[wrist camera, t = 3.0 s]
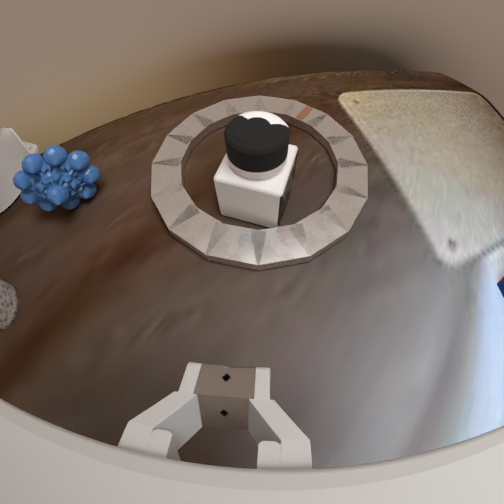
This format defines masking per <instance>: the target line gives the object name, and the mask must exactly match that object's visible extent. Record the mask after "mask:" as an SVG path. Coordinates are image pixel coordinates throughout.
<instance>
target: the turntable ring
mask: <svg viewBox="0 0 504 504" xmlns="http://www.w3.org/2000/svg"><path fill="white" fill-rule="evenodd" d="M250 111H264V112H269V113H272V114H274V115H276V116H278V117H279V118H281V119H282V120H283V121H284V122H286V123H289V124H291V125H293V126H295V127H298V128H300V129H302V130H304V131H306V132H309V133H310V134H311V135H312V136H313V137H314V138H315V139H316V140H317V141H318V142H320V143H321V144H322V145H323V146H324V147H325V148H326V149H327V151H328V153H329V156H330V158H331V160H332V162H333V165H334V167H335V169H336V176H335V189H334V191H333V192H332V194H331V195H330V197H329V198H328V200H327V201H326V203H325V204H324V206H323V207H322V208H321V209H320V210H318V211H316V212H315V213H313V214H311V215H309V216H308V217H306V218H304V219H303V220H301V221H299V222H297V223H296V224H294V225H287V226H281V227H275V228H269V229H263V230H255V229H250V228H244V227H239V226H233V225H228V224H223V223H221V222H220V221H218V220H216V219H215V218H213V217H212V216H210V215H208V214H207V213H205V212H203V211H202V210H200V209H198V208H197V207H196V206H195V204H194V203H193V201H192V200H191V198H190V197H189V195H188V194H187V192H186V190H185V189H184V173H183V169H184V167H185V164H186V162H187V160H188V158H189V156H190V154H191V151H192V149H193V148H194V147H195V146H196V145H197V144H198V143H199V142H200V141H202V140H203V139H204V138H205V137H206V136H207V135H208V134H209V133H210V132H212V131H214V130H217V129H219V128H221V127H224V126H226V125H227V124H228V123H229V122H230V121H231V120H232V119H233V118H235V117H236V116H238V115H240V114H242V113H246V112H250ZM367 166H368V165H367V163H366V161H365V159H364V157H363V155H362V153H361V151H360V149H359V148H358V146H357V144H356V142H355V140H354V138H353V136H352V135H351V134H350V133H348V132H347V131H346V130H345V129H344V128H343V127H342V126H340V125H339V124H338V123H337V122H336V121H335V120H333V119H332V118H331V117H330V116H329V115H328V114H326V113H324V112H321V111H319V110H317V109H314V108H312V107H310V106H307V105H305V104H303V103H300V102H298V101H296V100H289V99H282V98H275V97H267V96H252V97H244V98H236V99H229V100H224V101H221V102H219V103H216V104H214V105H211V106H209V107H207V108H204V109H202V110H200V111H197V112H195V113H193V114H192V115H190V116H189V117H188V118H187V119H186V120H184V121H183V122H182V123H181V124H180V125H178V126H177V127H176V128H175V129H174V130H173V131H171V132H170V133H169V134H168V135H167V137H166V138H165V140H164V142H163V144H162V146H161V147H160V149H159V151H158V153H157V155H156V157H155V159H154V161H153V162H152V177H151V198H152V200H153V202H154V204H155V205H156V207H157V209H158V210H159V212H160V214H161V216H162V218H163V220H164V222H165V223H166V225H167V227H168V230H169V231H170V233H171V235H172V236H173V237H175V238H176V239H178V240H179V241H181V242H182V243H184V244H185V245H186V246H188V247H189V248H191V249H192V250H194V251H195V252H197V253H198V254H200V255H201V256H202V257H204V258H205V259H207V260H208V261H212V262H217V263H222V264H227V265H232V266H237V267H242V268H247V269H252V270H257V271H260V270H266V269H271V268H277V267H283V266H288V265H294V264H299V263H305V262H309V261H310V260H312V259H313V258H315V257H316V256H318V255H320V254H321V253H323V252H324V251H326V250H327V249H329V248H330V247H332V246H333V245H335V244H336V243H338V242H339V241H341V240H342V239H344V238H345V237H346V236H347V234H348V233H349V231H350V229H351V227H352V225H353V224H354V222H355V220H356V218H357V216H358V215H359V213H360V211H361V209H362V208H363V206H364V205H365V203H366V201H367V199H368V178H367Z"/></svg>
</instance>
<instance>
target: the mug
mask: <svg viewBox="0 0 504 504" xmlns="http://www.w3.org/2000/svg"><path fill="white" fill-rule="evenodd" d="M18 309H19V296H18V293H17V291H16V289H15V288H14V287H13V286H12V285H10V284H8V283H6V282H5V281H3V280H1V279H0V328H1V329H7V328H8V327H10V326H11V325H12V324H13V322H14V321H15V318H16V316H17V313H18Z"/></svg>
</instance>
